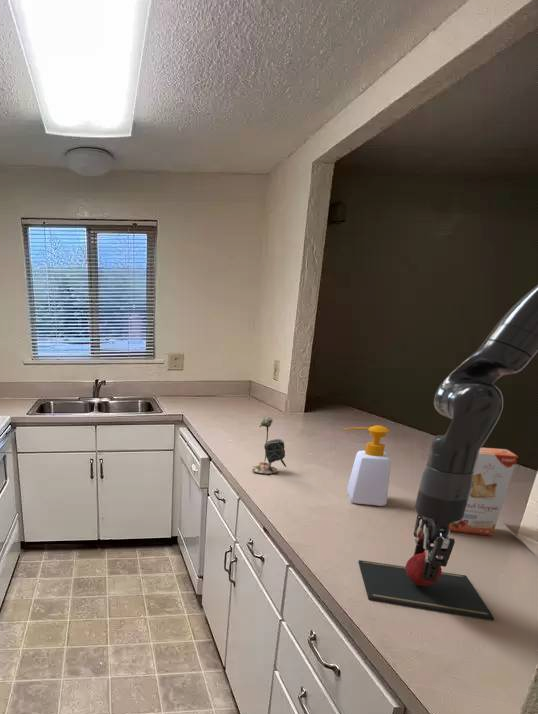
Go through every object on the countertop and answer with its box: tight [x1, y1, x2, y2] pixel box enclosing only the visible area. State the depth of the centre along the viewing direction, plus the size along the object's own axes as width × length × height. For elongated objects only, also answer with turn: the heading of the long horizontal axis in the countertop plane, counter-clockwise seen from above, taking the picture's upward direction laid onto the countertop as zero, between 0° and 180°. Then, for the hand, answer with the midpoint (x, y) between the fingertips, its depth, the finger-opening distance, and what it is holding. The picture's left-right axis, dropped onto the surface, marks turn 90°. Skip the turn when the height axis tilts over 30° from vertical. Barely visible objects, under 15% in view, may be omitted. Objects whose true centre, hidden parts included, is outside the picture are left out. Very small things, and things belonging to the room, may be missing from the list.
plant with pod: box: [252, 415, 287, 475], centre depth 147 cm, size 8×11×20 cm
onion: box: [405, 550, 443, 586], centre depth 84 cm, size 6×6×8 cm
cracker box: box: [449, 447, 519, 537], centre depth 106 cm, size 14×6×21 cm, turn 72°
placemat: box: [358, 559, 495, 621], centre depth 86 cm, size 20×14×1 cm
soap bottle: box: [342, 424, 392, 507], centre depth 124 cm, size 10×14×22 cm
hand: (423, 570), depth 85 cm, fingers closed on onion, 6 cm apart
